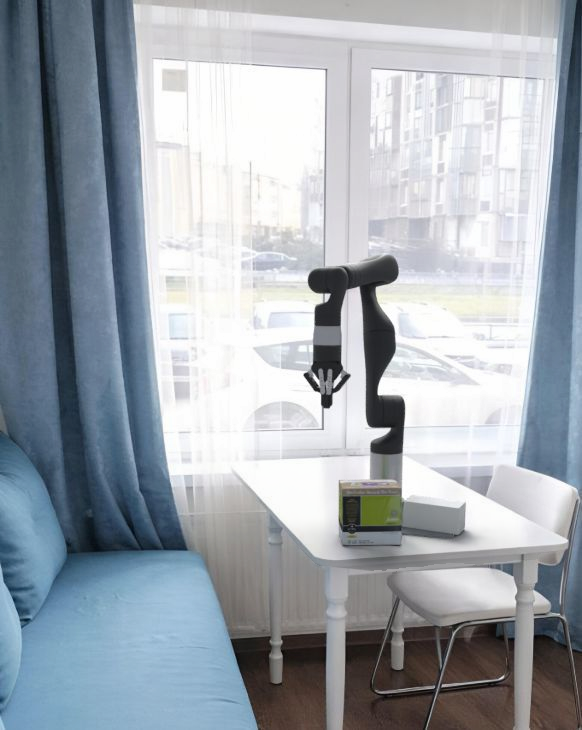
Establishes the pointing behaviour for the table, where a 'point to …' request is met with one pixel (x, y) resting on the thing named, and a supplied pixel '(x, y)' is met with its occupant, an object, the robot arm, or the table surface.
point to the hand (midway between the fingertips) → (326, 408)
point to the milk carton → (433, 514)
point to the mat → (425, 533)
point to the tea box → (370, 512)
